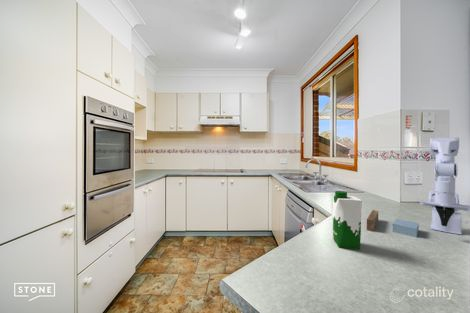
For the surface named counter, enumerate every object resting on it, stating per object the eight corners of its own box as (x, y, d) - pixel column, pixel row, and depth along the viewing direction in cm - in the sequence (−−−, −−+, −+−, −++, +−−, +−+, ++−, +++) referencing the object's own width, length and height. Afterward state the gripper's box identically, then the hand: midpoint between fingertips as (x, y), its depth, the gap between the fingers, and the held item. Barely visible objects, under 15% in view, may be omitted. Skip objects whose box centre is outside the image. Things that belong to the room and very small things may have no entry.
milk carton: (330, 238, 82) (331, 189, 82) (354, 240, 80) (355, 190, 80) (336, 248, 74) (337, 193, 73) (364, 251, 72) (365, 195, 72)
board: (378, 220, 106) (378, 211, 106) (373, 231, 91) (373, 220, 91) (372, 219, 107) (372, 210, 107) (366, 230, 92) (366, 219, 92)
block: (418, 231, 92) (418, 223, 92) (416, 238, 85) (416, 228, 85) (396, 227, 97) (396, 218, 97) (392, 232, 90) (392, 223, 90)
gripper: (421, 191, 85) (420, 223, 85) (474, 196, 75) (473, 232, 75) (420, 189, 90) (419, 219, 90) (469, 193, 81) (469, 227, 81)
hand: (444, 225), depth 83 cm, fingers closed
